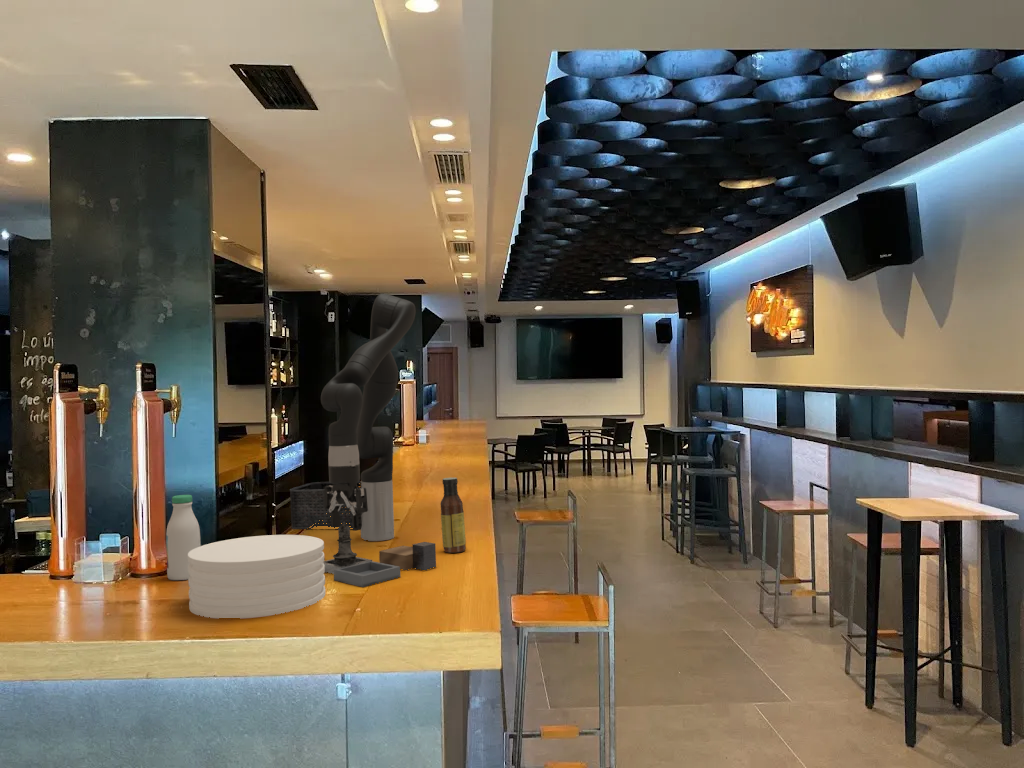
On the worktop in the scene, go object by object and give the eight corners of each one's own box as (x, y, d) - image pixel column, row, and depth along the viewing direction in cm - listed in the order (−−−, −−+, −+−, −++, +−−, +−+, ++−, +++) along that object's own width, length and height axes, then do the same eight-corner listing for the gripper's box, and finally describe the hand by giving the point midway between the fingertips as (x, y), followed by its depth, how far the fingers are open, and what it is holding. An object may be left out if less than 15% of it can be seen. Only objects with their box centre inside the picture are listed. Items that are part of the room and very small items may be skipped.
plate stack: (350, 596, 171) (349, 543, 171) (229, 628, 150) (227, 568, 150) (282, 577, 190) (281, 530, 190) (166, 603, 170) (164, 550, 170)
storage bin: (287, 530, 254) (285, 488, 254) (313, 519, 273) (312, 481, 273) (370, 530, 249) (369, 488, 249) (391, 519, 268) (390, 480, 268)
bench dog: (413, 568, 194) (412, 544, 194) (425, 565, 197) (424, 541, 197) (424, 570, 191) (423, 546, 191) (436, 567, 194) (435, 543, 194)
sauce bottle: (467, 548, 216) (465, 476, 216) (464, 553, 210) (461, 479, 210) (444, 548, 217) (441, 476, 216) (439, 553, 210) (437, 479, 210)
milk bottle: (208, 574, 194) (205, 493, 194) (183, 582, 187) (180, 498, 187) (185, 572, 198) (183, 493, 198) (160, 579, 191) (157, 497, 191)
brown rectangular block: (379, 566, 199) (379, 551, 199) (403, 560, 205) (403, 545, 205) (406, 572, 192) (405, 555, 192) (430, 565, 198) (429, 549, 198)
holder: (318, 570, 195) (317, 562, 195) (349, 563, 203) (348, 555, 203) (341, 575, 189) (341, 567, 189) (372, 567, 196) (372, 560, 196)
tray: (333, 580, 185) (333, 569, 185) (371, 570, 193) (370, 560, 193) (363, 587, 178) (362, 576, 178) (400, 577, 186) (400, 566, 186)
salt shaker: (361, 567, 198) (360, 519, 198) (349, 572, 192) (348, 523, 192) (341, 566, 200) (339, 518, 200) (328, 571, 194) (327, 523, 194)
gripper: (314, 464, 198) (316, 528, 197) (349, 465, 188) (352, 533, 188) (338, 461, 203) (341, 524, 203) (374, 462, 194) (376, 528, 194)
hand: (346, 528), depth 196 cm, fingers open, 8 cm apart
